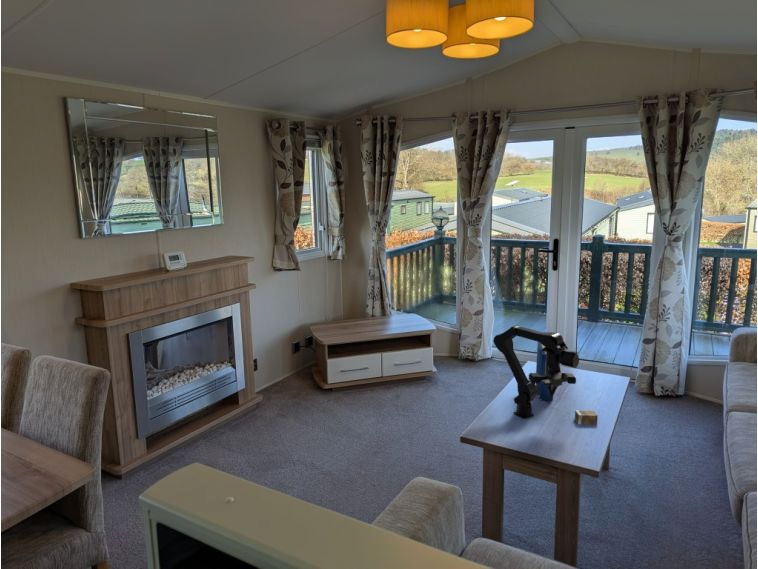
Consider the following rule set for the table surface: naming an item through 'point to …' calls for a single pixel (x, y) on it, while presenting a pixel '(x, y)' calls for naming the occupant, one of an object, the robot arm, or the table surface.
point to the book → (542, 373)
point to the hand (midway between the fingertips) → (551, 397)
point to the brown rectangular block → (586, 417)
